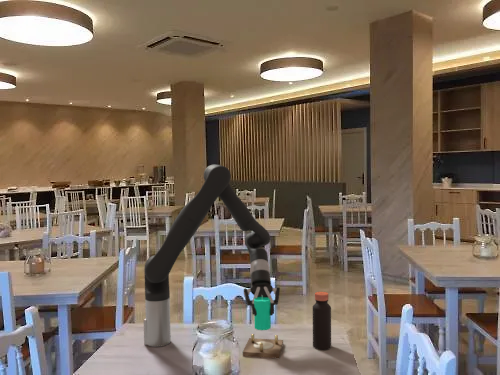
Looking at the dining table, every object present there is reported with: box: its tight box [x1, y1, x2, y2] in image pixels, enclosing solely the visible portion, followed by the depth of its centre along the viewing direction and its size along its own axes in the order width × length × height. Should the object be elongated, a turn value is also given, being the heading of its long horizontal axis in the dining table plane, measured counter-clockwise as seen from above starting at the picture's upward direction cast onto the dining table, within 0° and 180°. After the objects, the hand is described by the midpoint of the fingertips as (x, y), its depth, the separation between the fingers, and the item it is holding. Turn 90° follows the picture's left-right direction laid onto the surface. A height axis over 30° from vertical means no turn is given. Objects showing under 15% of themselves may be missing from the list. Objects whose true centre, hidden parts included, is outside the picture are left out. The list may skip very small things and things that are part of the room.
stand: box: [242, 337, 284, 359], centre depth 165 cm, size 13×13×2 cm
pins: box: [250, 333, 279, 352], centre depth 163 cm, size 10×9×3 cm
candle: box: [253, 297, 272, 331], centre depth 164 cm, size 6×6×12 cm
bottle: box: [312, 291, 332, 351], centre depth 166 cm, size 7×7×20 cm
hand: (263, 314), depth 162 cm, fingers closed on candle, 5 cm apart
